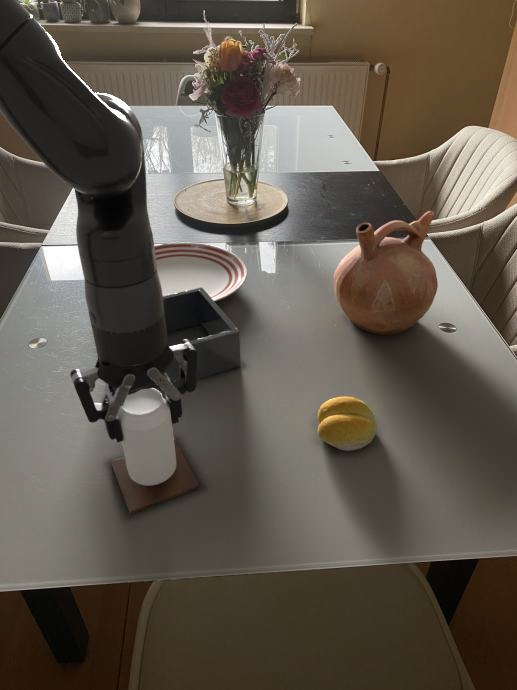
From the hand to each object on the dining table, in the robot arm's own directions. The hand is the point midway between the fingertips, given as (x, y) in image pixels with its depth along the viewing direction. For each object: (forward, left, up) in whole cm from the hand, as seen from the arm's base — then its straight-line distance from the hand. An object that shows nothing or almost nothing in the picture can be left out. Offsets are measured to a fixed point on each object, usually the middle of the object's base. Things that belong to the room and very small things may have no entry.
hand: (145, 427), depth 65 cm
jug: (+50, +18, -9) cm, 54 cm away
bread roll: (+27, -4, -9) cm, 29 cm away
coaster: (0, 0, -9) cm, 9 cm away
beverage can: (0, 0, -8) cm, 8 cm away
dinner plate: (+21, +47, -9) cm, 52 cm away
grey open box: (+12, +24, -9) cm, 28 cm away
